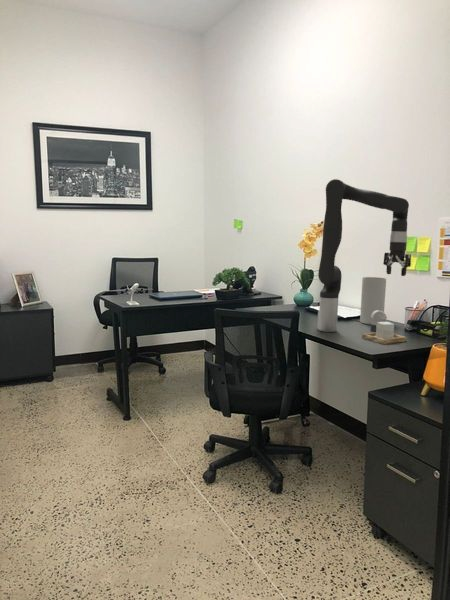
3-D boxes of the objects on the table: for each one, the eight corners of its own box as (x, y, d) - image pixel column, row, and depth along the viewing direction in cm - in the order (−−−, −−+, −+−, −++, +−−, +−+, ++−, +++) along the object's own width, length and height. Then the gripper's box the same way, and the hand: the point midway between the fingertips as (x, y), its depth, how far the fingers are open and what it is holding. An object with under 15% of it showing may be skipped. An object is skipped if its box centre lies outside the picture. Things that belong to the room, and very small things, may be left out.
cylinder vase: (358, 323, 265) (361, 278, 261) (361, 320, 276) (363, 276, 273) (382, 326, 260) (385, 280, 257) (384, 321, 272) (387, 277, 268)
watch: (387, 332, 244) (389, 311, 242) (373, 333, 242) (374, 311, 240) (381, 330, 249) (382, 309, 248) (367, 330, 247) (368, 309, 246)
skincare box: (387, 336, 231) (388, 321, 230) (393, 339, 226) (394, 324, 224) (375, 336, 231) (376, 321, 229) (381, 339, 225) (382, 324, 223)
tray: (362, 338, 231) (362, 334, 230) (382, 335, 238) (382, 331, 237) (385, 344, 219) (385, 340, 218) (405, 341, 226) (406, 337, 225)
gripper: (381, 240, 234) (379, 273, 236) (405, 241, 222) (402, 276, 224) (391, 240, 237) (389, 273, 240) (416, 241, 225) (413, 276, 228)
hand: (395, 274), depth 232 cm, fingers open, 8 cm apart
